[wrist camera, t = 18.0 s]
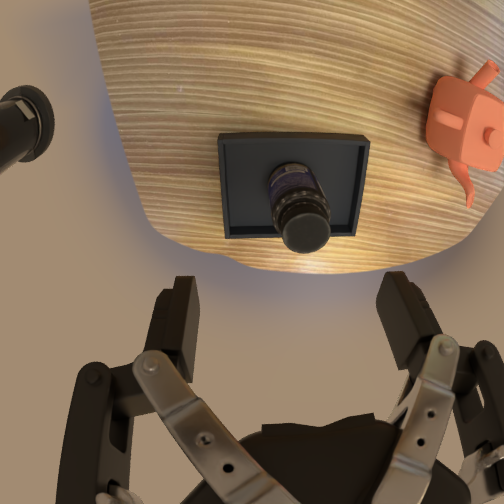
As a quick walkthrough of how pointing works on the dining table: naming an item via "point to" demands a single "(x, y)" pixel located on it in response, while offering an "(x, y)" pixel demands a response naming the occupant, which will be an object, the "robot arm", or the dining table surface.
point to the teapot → (467, 125)
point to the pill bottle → (299, 208)
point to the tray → (276, 154)
